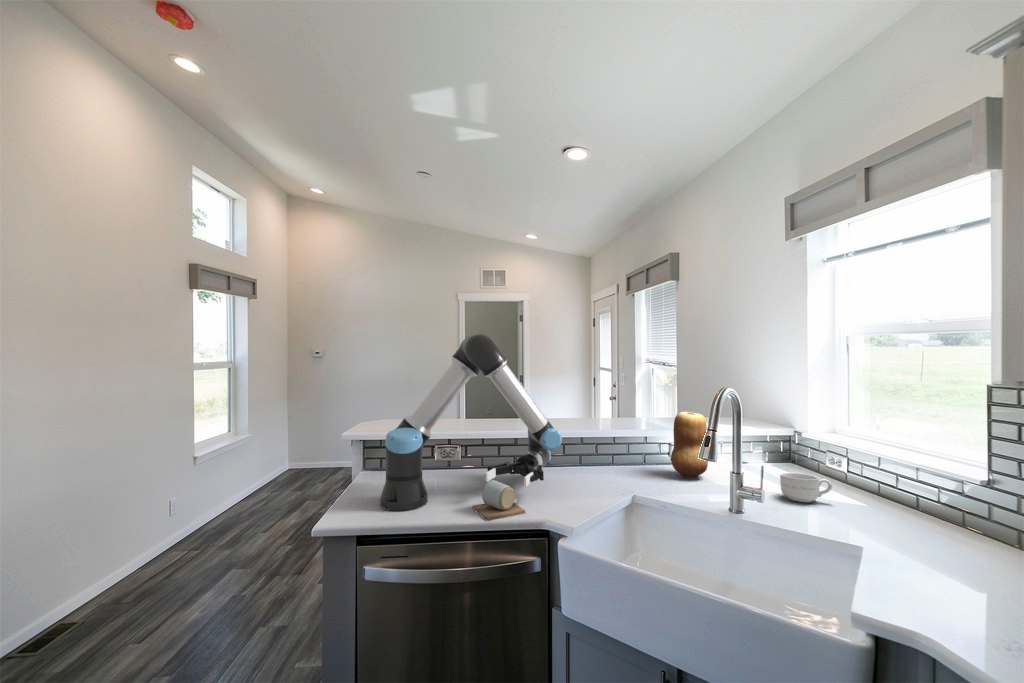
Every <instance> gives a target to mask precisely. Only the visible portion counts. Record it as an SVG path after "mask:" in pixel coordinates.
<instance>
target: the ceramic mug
mask: <svg viewBox="0 0 1024 683" xmlns="http://www.w3.org/2000/svg"><path fill="white" fill-rule="evenodd" d="M481 497H482V501H483V504H486V505H489V506H492V507H495V508H498V509H501V510H507V509H509V508H510V507H511V506H512V505H513V503H515V504H516V505H517V503H518V498H516V493H515V490H514V489H513V488H512V487H511V486H509V485H508V484H505V483H502V482H500V481H497V480H495V479H491V480H489V481H488V482H486V483H485V485H484V487H483V489H482V494H481Z"/></svg>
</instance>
